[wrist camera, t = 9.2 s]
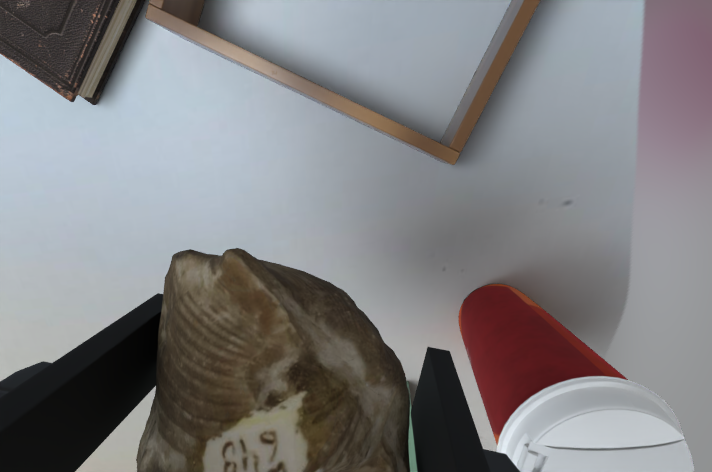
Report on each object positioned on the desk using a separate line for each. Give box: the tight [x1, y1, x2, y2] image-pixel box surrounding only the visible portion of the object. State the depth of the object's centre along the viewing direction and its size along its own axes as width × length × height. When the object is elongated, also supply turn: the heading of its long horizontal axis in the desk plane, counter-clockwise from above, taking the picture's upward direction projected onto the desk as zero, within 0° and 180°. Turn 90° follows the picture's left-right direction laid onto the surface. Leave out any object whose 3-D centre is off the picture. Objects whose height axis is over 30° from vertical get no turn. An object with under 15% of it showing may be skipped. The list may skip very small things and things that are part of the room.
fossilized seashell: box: [136, 248, 410, 472], centre depth 10 cm, size 8×7×10 cm
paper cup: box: [459, 284, 694, 472], centre depth 21 cm, size 8×8×14 cm
